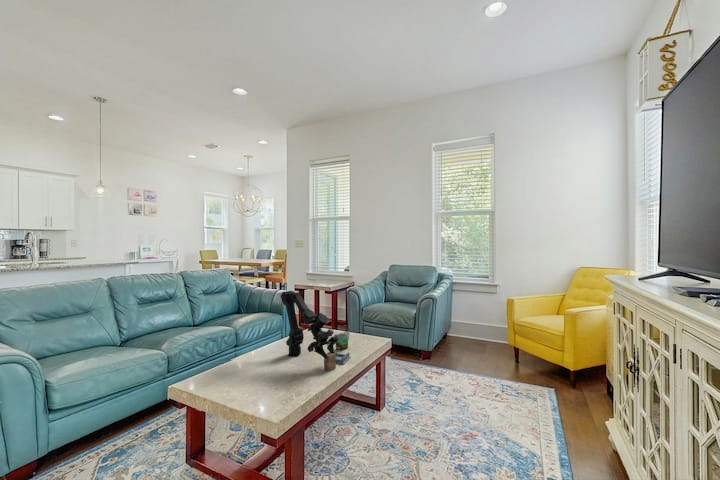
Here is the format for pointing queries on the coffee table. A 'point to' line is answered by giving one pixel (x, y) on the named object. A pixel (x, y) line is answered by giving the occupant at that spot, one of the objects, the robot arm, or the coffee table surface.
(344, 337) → the food container
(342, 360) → the cradle
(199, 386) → the coffee table surface
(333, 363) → the walnut block
